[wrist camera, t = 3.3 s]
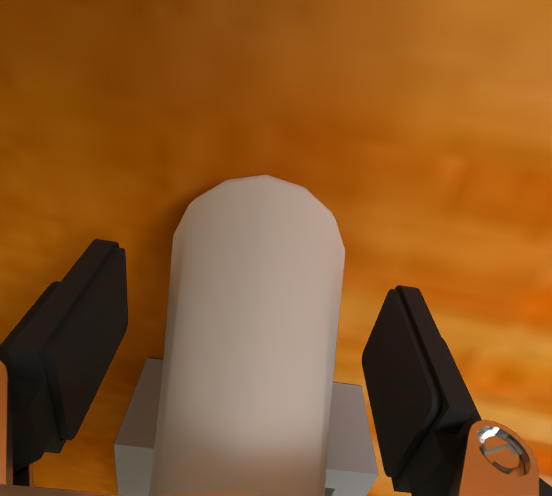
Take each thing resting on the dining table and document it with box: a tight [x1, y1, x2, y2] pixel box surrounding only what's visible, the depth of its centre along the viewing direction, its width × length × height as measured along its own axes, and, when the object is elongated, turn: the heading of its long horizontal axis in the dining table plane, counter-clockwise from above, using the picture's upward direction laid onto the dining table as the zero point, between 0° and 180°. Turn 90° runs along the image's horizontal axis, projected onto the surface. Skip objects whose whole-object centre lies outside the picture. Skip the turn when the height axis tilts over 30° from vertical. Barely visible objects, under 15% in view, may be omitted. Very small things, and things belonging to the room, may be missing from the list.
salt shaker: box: [149, 174, 345, 496], centre depth 10 cm, size 6×6×13 cm
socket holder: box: [114, 358, 379, 496], centre depth 21 cm, size 11×11×4 cm
